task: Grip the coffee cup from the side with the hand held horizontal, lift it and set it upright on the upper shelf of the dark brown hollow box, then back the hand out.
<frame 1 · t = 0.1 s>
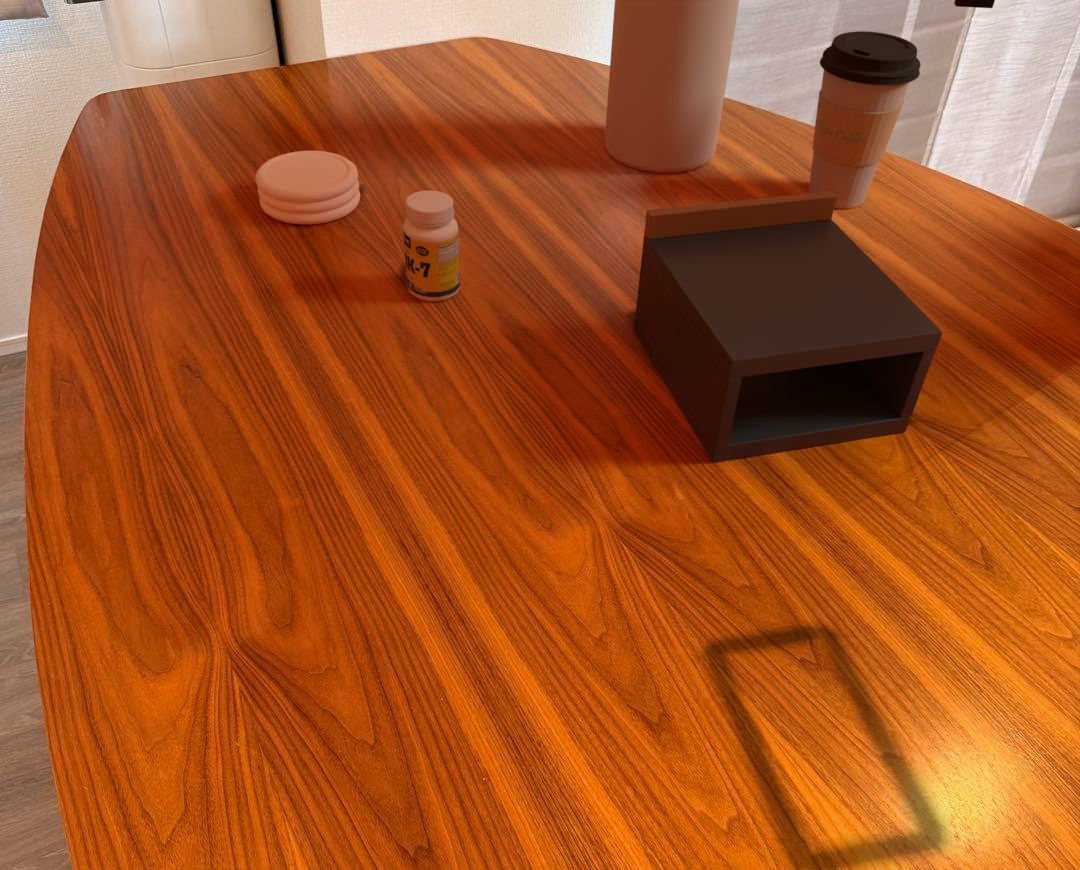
dark brown hollow box: (761, 378, 79), on the table
coffee cup: (836, 197, 103), on the table
coaster: (311, 205, 99), on the table
supplement bottle: (434, 291, 88), on the table
cylinder vase: (659, 153, 110), on the table
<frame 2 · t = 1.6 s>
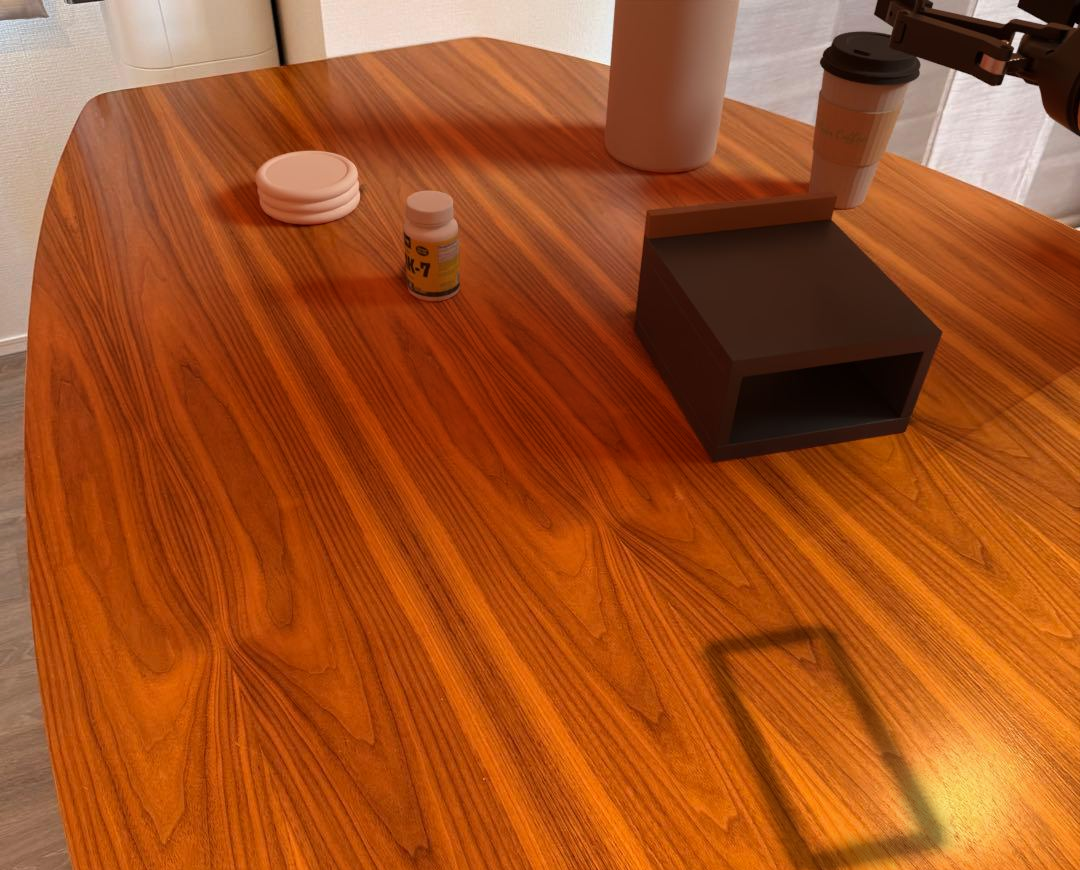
nothing on the table moved.
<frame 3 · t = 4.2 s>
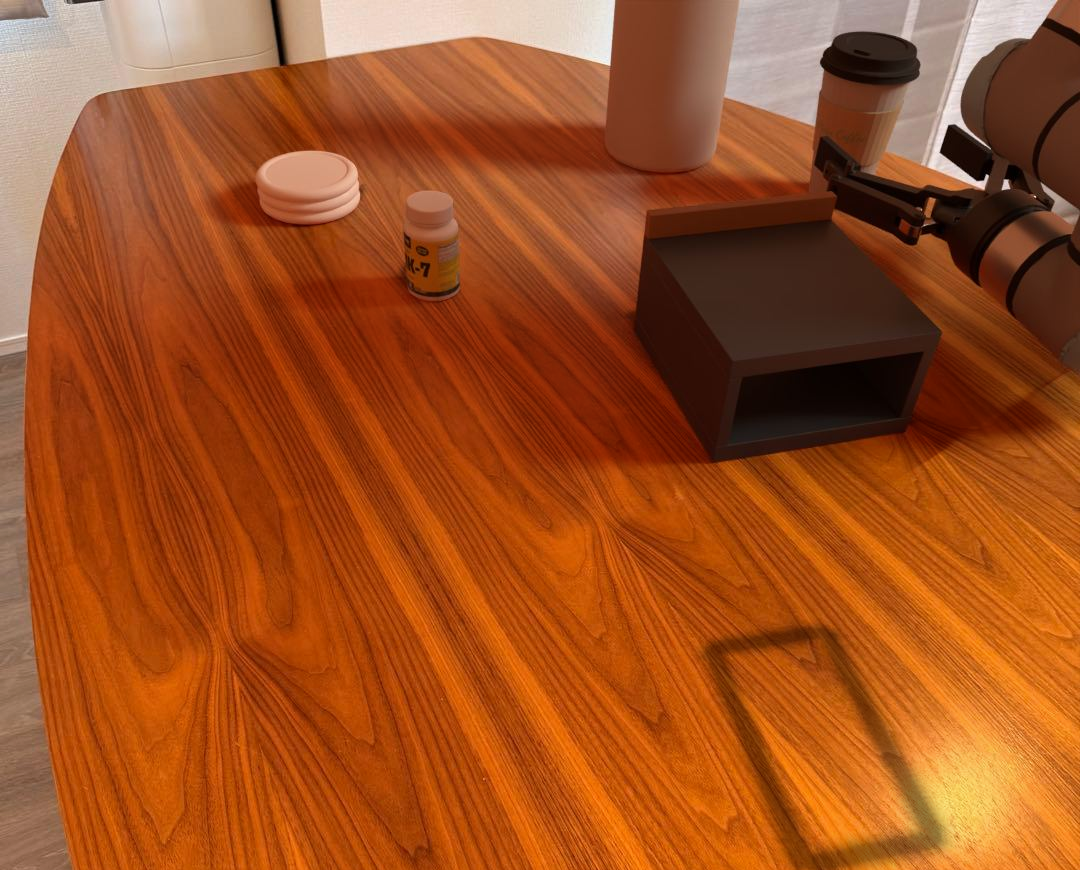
hand: (884, 144, 93), 8 cm above the table, tool horizontal, fingers open, 13 cm apart
nothing on the table moved.
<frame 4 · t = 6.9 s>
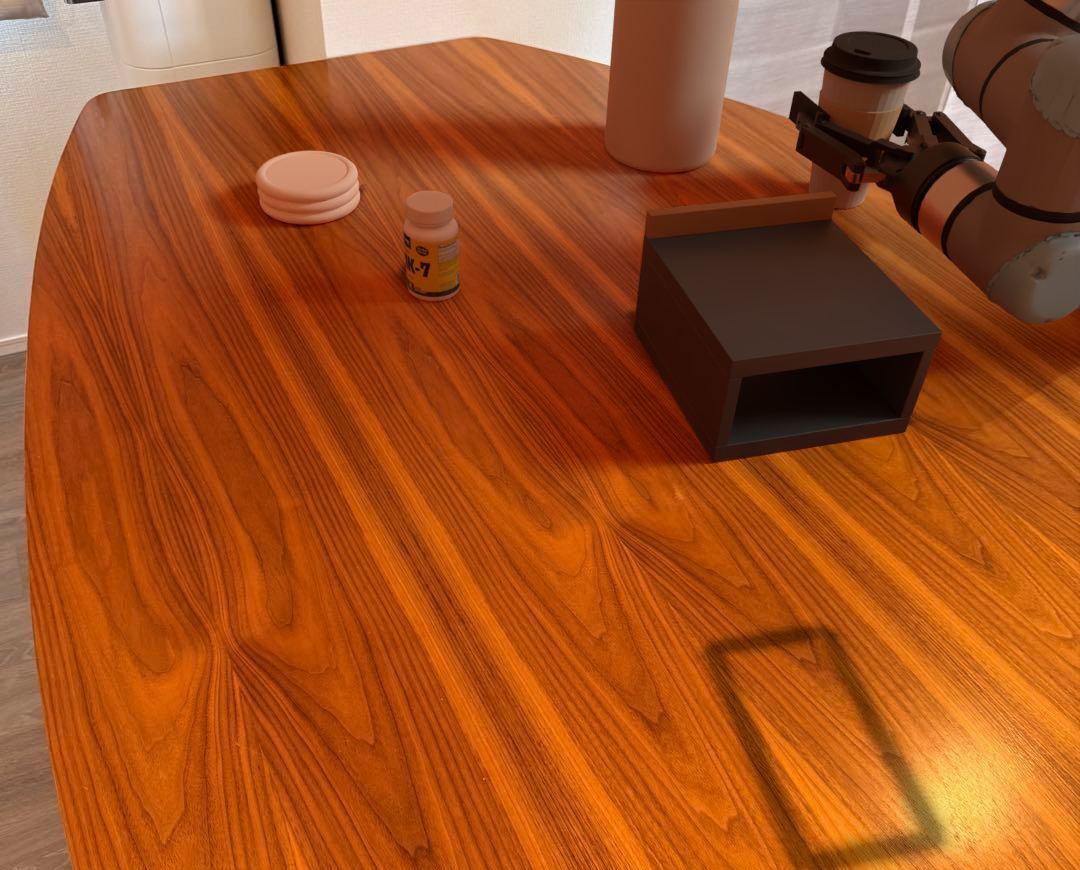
hand: (833, 101, 100), 8 cm above the table, tool horizontal, fingers closed on coffee cup, 8 cm apart
coffee cup: (836, 197, 103), on the table, touching gripper
everything else where it was.
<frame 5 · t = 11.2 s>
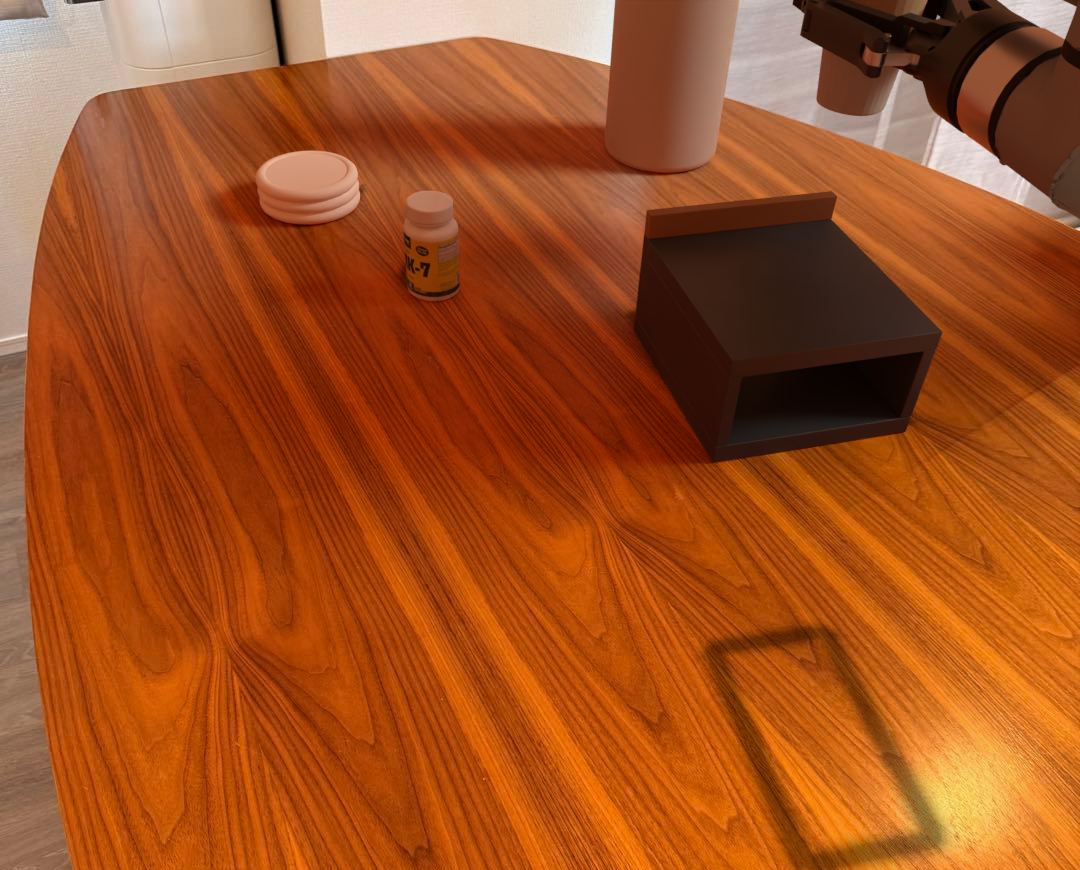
coffee cup: (850, 105, 84), point 14 cm above the table, touching gripper
everything else where it was.
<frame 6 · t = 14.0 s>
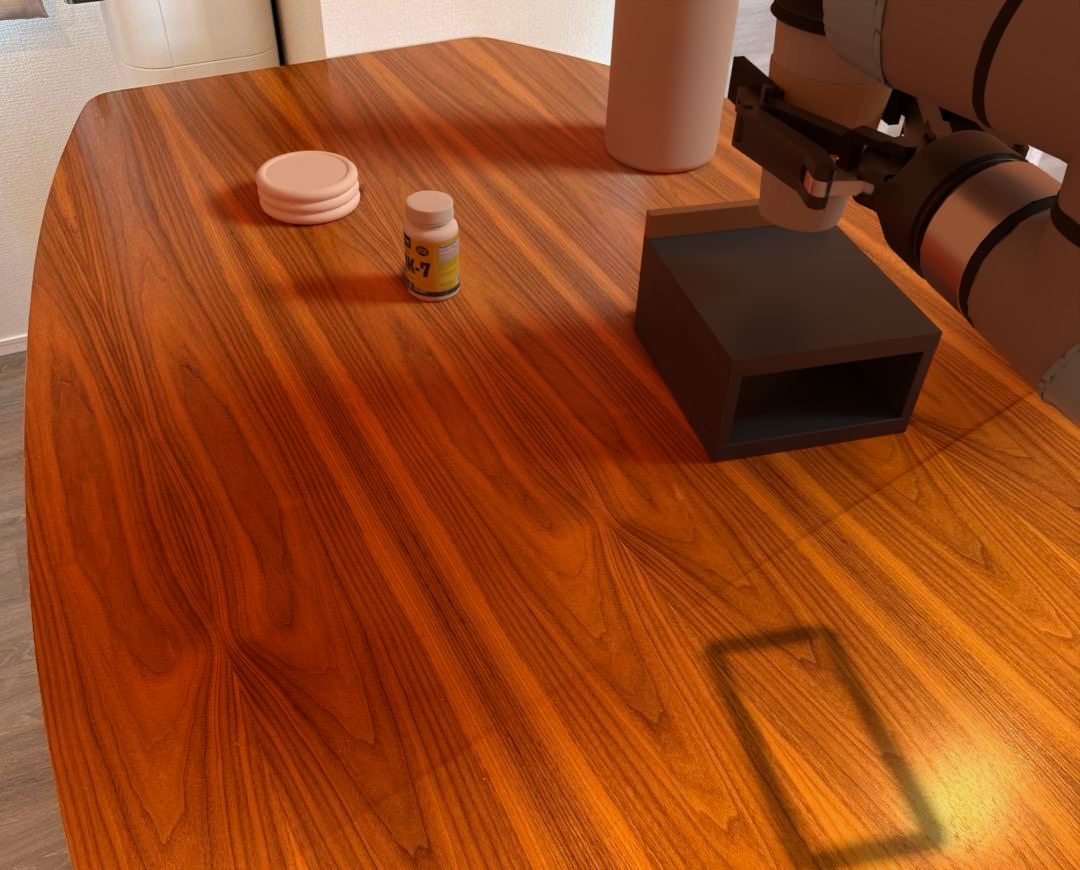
hand: (794, 72, 67), 22 cm above the table, tool horizontal, fingers closed on coffee cup, 8 cm apart
coffee cup: (799, 215, 70), point 14 cm above the table, touching gripper
everything else where it was.
when the fingers open (17 cm above the table, at t = 15.9 s): coffee cup stays where it is, resting on dark brown hollow box.
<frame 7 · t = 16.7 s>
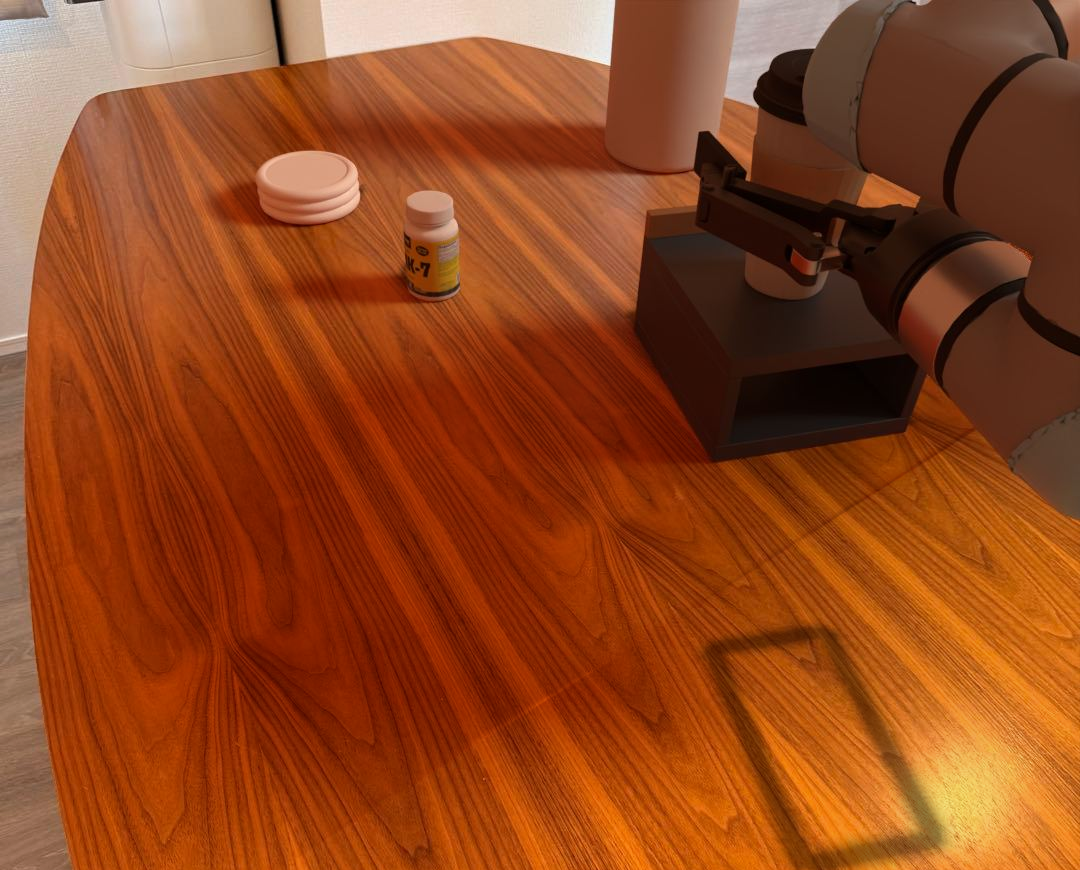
hand: (790, 142, 69), 18 cm above the table, tool horizontal, fingers open, 13 cm apart
coffee cup: (784, 281, 73), point 9 cm above the table, touching dark brown hollow box
everything else where it was.
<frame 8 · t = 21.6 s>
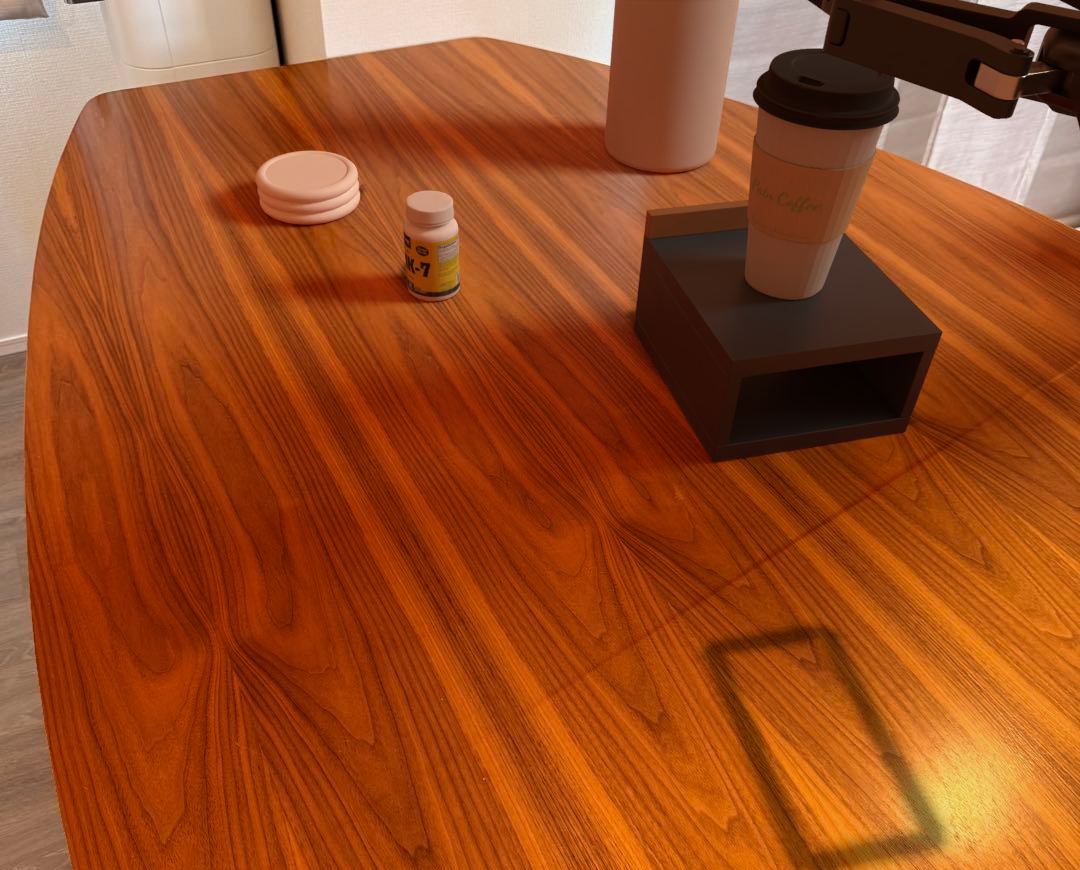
nothing on the table moved.
at the end: coffee cup inside the target area on the dark brown hollow box (0.1 cm from its centre), point 8.8 cm above the dark brown hollow box's base; coffee cup tilted 0°; the gripper is holding nothing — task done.
